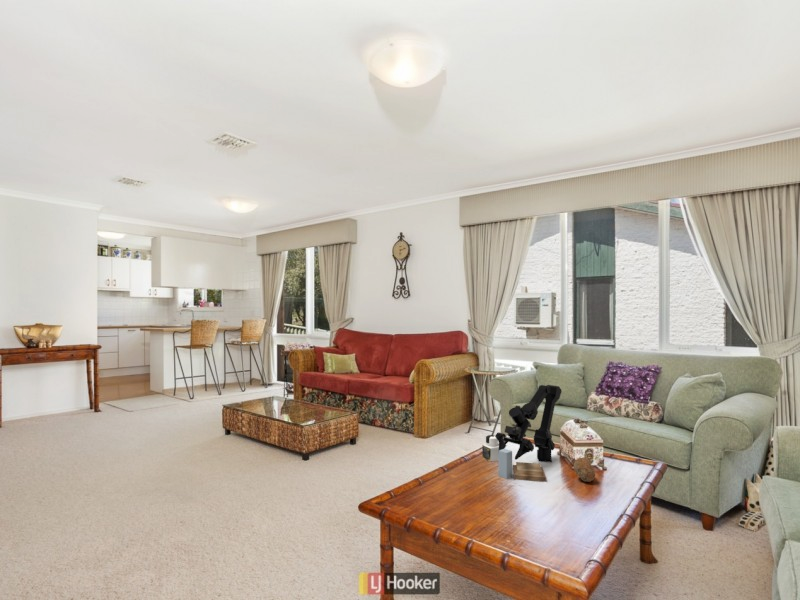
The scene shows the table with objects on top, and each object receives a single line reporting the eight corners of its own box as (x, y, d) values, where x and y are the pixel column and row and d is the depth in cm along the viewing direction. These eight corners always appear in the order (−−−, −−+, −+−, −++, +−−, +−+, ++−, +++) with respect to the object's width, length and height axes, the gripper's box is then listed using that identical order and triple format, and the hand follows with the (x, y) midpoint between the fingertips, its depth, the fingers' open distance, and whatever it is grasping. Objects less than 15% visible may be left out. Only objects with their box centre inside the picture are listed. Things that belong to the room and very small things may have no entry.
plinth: (542, 470, 222) (542, 462, 222) (546, 481, 208) (546, 472, 208) (512, 468, 225) (512, 460, 225) (514, 479, 211) (514, 470, 211)
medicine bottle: (482, 457, 241) (482, 435, 241) (493, 456, 244) (493, 433, 244) (490, 462, 234) (490, 438, 235) (501, 460, 237) (501, 436, 238)
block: (504, 474, 218) (504, 448, 218) (512, 476, 214) (512, 450, 215) (498, 476, 215) (498, 450, 215) (506, 479, 211) (506, 452, 212)
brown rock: (598, 477, 213) (598, 456, 213) (593, 486, 203) (593, 463, 203) (577, 473, 218) (577, 452, 219) (571, 482, 208) (571, 459, 208)
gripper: (497, 415, 226) (483, 442, 219) (530, 423, 213) (517, 451, 205) (506, 429, 231) (493, 455, 224) (539, 437, 218) (526, 465, 210)
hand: (507, 456), depth 216 cm, fingers open, 9 cm apart
